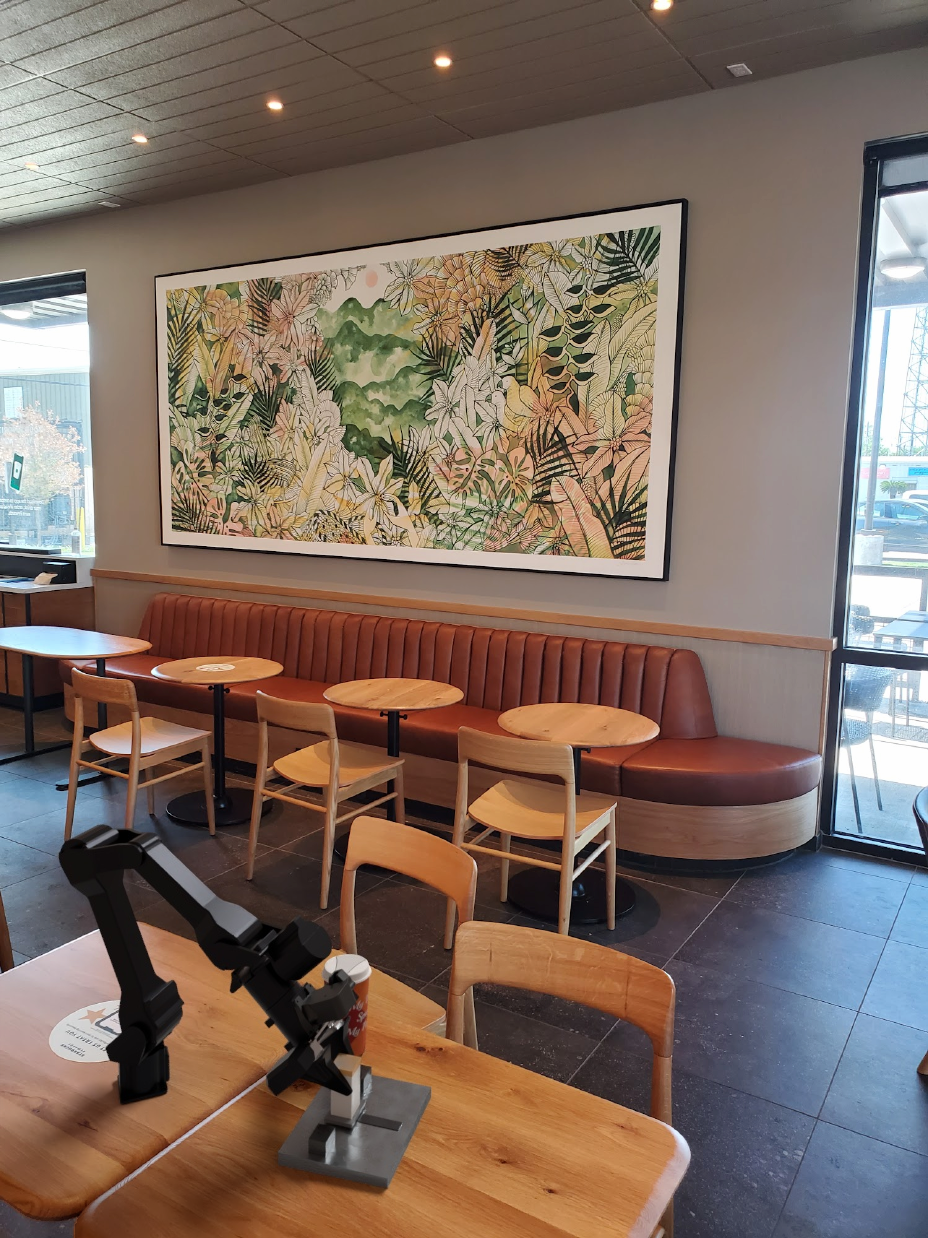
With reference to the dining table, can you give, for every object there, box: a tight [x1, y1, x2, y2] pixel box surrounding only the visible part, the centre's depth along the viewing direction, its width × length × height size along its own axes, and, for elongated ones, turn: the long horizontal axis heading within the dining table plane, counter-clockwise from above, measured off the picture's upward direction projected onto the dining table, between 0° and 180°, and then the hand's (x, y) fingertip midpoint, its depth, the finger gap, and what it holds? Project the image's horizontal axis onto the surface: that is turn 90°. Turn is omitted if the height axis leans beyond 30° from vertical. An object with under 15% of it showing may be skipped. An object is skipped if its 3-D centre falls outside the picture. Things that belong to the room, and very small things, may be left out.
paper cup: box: [321, 953, 372, 1057], centre depth 137 cm, size 8×8×14 cm
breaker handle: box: [324, 1053, 366, 1128], centre depth 120 cm, size 4×5×8 cm
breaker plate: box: [277, 1063, 432, 1189], centre depth 120 cm, size 15×18×4 cm
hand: (355, 1086), depth 119 cm, fingers closed on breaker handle, 3 cm apart
